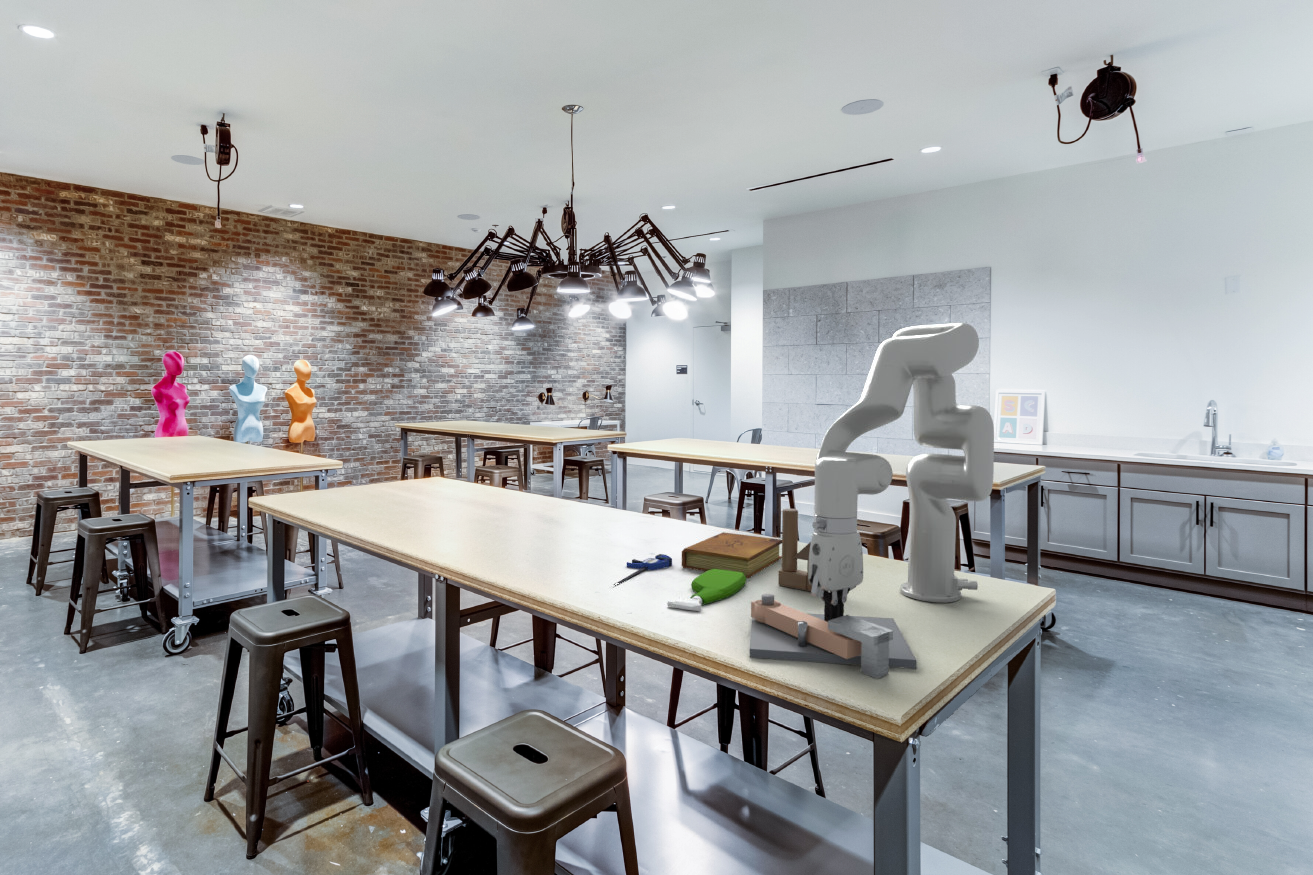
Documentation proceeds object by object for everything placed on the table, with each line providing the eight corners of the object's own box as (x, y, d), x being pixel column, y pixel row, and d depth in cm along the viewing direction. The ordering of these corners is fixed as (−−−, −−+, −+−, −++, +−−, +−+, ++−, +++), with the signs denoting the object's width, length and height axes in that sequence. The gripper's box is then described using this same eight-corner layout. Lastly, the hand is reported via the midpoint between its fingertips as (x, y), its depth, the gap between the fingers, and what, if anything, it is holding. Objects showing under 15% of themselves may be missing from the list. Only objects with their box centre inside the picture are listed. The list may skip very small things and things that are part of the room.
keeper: (795, 653, 112) (796, 613, 112) (821, 644, 116) (822, 606, 115) (865, 683, 100) (866, 639, 100) (892, 672, 104) (893, 630, 104)
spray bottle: (750, 585, 153) (708, 618, 132) (708, 578, 158) (660, 609, 137) (750, 573, 153) (708, 604, 131) (708, 567, 158) (660, 596, 137)
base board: (892, 625, 125) (893, 618, 125) (916, 668, 106) (916, 659, 106) (752, 617, 130) (752, 610, 130) (749, 657, 110) (749, 648, 110)
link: (748, 617, 124) (749, 594, 124) (768, 612, 127) (768, 590, 127) (844, 659, 104) (845, 632, 104) (865, 653, 107) (866, 626, 107)
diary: (720, 551, 187) (720, 531, 187) (782, 560, 177) (782, 539, 177) (681, 569, 167) (681, 547, 167) (748, 580, 158) (748, 556, 157)
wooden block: (821, 594, 145) (822, 515, 144) (777, 585, 152) (778, 509, 150) (827, 590, 148) (829, 512, 147) (785, 582, 154) (786, 507, 153)
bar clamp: (643, 550, 176) (676, 555, 171) (643, 559, 176) (676, 564, 172) (575, 586, 147) (613, 593, 143) (576, 597, 148) (613, 603, 143)
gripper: (821, 533, 110) (820, 638, 112) (879, 523, 118) (877, 621, 120) (790, 525, 117) (789, 625, 118) (847, 517, 125) (845, 610, 126)
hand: (833, 623), depth 119 cm, fingers closed
